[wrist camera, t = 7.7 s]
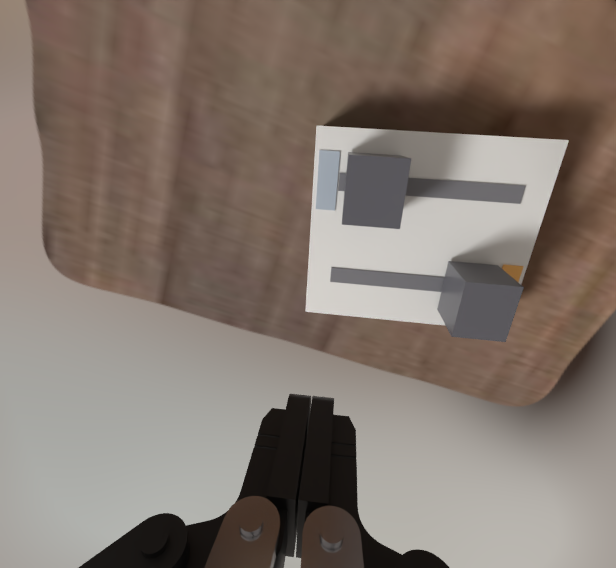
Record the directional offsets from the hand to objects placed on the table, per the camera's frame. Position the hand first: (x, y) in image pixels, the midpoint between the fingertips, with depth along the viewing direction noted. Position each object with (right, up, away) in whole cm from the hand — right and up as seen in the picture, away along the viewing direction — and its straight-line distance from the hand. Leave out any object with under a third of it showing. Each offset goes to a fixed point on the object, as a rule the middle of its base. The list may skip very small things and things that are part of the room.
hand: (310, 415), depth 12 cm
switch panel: (+8, +9, +17) cm, 21 cm away
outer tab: (+12, +4, +14) cm, 19 cm away
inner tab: (+4, +11, +12) cm, 17 cm away
